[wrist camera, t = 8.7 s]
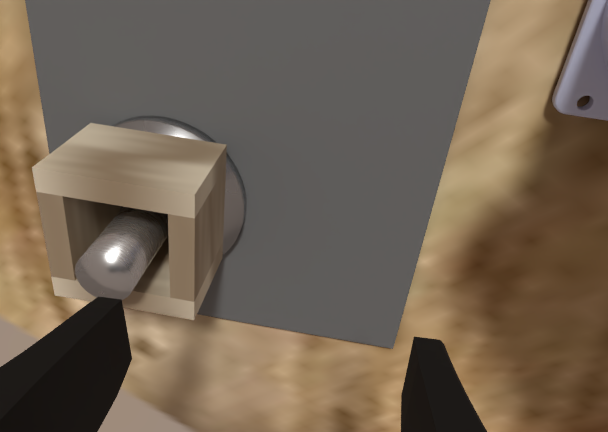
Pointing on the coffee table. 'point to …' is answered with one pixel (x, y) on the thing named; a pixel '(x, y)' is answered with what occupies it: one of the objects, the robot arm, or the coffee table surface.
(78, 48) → the mat
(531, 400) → the coffee table surface
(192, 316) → the collar
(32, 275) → the coffee table surface
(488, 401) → the coffee table surface
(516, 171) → the coffee table surface
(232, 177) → the post
